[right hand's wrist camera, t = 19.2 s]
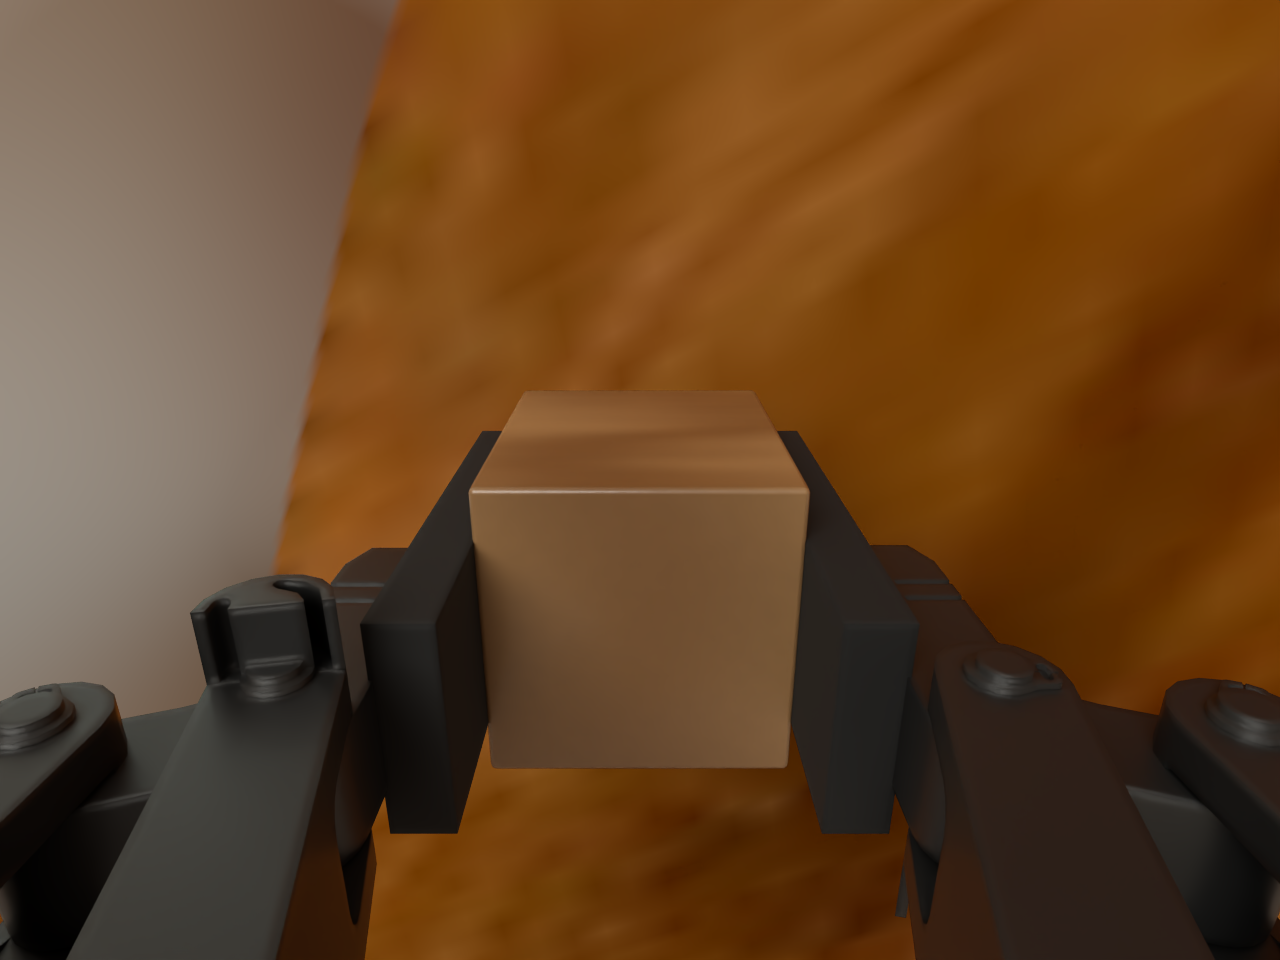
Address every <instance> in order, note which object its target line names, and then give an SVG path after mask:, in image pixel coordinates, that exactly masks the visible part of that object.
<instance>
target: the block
mask: <svg viewBox="0 0 1280 960" xmlns="http://www.w3.org/2000/svg"><path fill="white" fill-rule="evenodd" d="M809 502H810V490H809V488H808V486H807V484H806V483H805V481H804V479H803V477H802V475H801V474H800V472H799V470H798V468H797V466H796V465H795V463H794V461H793V459H792V458H791V456H790V454H789V452H788V450H787V449H786V447H785V445H784V443H783V442H782V440H781V438H780V436H779V434H778V433H777V431H776V429H775V427H774V425H773V424H772V422H771V420H770V418H769V417H768V415H767V413H766V411H765V409H764V408H763V406H762V404H761V402H760V400H759V399H758V397H757V395H756V393H755V392H753V391H526V392H524V394H523V395H522V397H521V399H520V401H519V403H518V404H517V406H516V408H515V410H514V411H513V413H512V415H511V417H510V418H509V420H508V422H507V424H506V426H505V427H504V429H503V431H502V433H501V434H500V436H499V438H498V440H497V441H496V443H495V445H494V447H493V449H492V450H491V452H490V454H489V456H488V457H487V459H486V461H485V463H484V464H483V466H482V468H481V470H480V472H479V473H478V475H477V477H476V479H475V480H474V482H473V484H472V486H471V487H470V490H469V505H470V517H471V529H472V540H473V544H474V556H475V568H476V580H477V592H478V604H479V616H480V628H481V640H482V652H483V664H484V676H485V688H486V700H487V712H488V732H489V744H490V756H491V764H492V766H493V767H494V768H785V767H786V766H787V764H788V757H789V745H790V733H791V715H792V702H793V690H794V678H795V666H796V654H797V642H798V630H799V617H800V605H801V593H802V581H803V569H804V557H805V544H806V538H807V526H808V514H809Z"/></svg>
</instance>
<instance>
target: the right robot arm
mask: <svg viewBox="0 0 1280 960" xmlns="http://www.w3.org/2000/svg"><path fill="white" fill-rule="evenodd" d="M501 433H502V431H482V433H481V434H480V436H479V437H478V439H477V440H476V442H475V444H474V445H473V447H472V448H471V450H470V451H469V453H468V455H467V456H466V458H465V459H464V461H463V462H462V464H461V466H460V467H459V469H458V470H457V472H456V473H455V475H454V477H453V478H452V480H451V481H450V483H449V484H448V486H447V488H446V489H445V491H444V492H443V494H442V495H441V497H440V499H439V500H438V502H437V503H436V505H435V506H434V508H433V510H432V511H431V513H430V514H429V516H428V517H427V519H426V521H425V522H424V524H423V525H422V527H421V528H420V530H419V532H418V533H417V535H416V536H415V538H414V539H413V541H412V543H411V544H410V546H409V547H408V548H371V549H370V550H368V551H367V552H365V553H363V554H362V555H360V556H358V557H357V558H355V559H353V560H352V561H350V562H348V563H347V564H345V566H344V567H343V568H342V569H341V571H340V572H339V573H338V575H337V576H336V577H335V578H334V580H333V581H332V582H331V585H330V584H328V583H327V582H326V581H324V580H323V579H320V578H316V577H312V576H307V575H274V576H268V577H262V578H256V579H251V580H248V581H245V582H242V583H239V584H236V585H232V586H229V587H226V588H224V589H222V590H220V591H219V592H217V593H215V594H213V595H211V596H209V597H207V598H206V599H204V600H203V601H202V602H201V603H200V604H199V605H198V606H197V607H196V608H195V609H193V610H192V611H191V612H190V615H191V619H192V623H193V628H194V632H195V636H196V640H197V645H198V649H199V653H200V657H201V662H202V666H203V670H204V675H205V679H206V683H207V686H206V688H205V690H204V692H203V694H202V696H201V698H200V700H199V702H198V704H194V705H190V706H186V707H182V708H177V709H172V710H167V711H161V712H156V713H151V714H145V715H140V716H135V717H130V718H125V719H121V716H120V713H119V709H118V706H117V703H116V699H115V696H114V694H113V693H112V692H111V691H109V690H108V689H107V688H106V687H104V686H103V685H98V684H92V683H86V682H74V683H62V684H49V685H44V686H39V687H38V689H35V688H31V689H28V690H25V691H21V692H19V693H16V694H15V695H13V696H12V697H10V698H7V699H5V700H3V701H0V914H1V916H2V919H3V922H2V923H1V924H0V960H364V959H365V951H366V943H367V935H368V927H369V919H370V912H371V904H372V896H373V888H374V880H375V873H376V865H377V863H376V856H375V848H374V842H373V836H372V829H371V828H372V826H373V823H374V821H375V818H376V816H377V814H378V811H379V809H380V806H381V804H382V802H383V799H384V797H385V800H386V807H387V814H388V820H389V827H390V834H457V833H458V830H459V826H460V823H461V819H462V815H463V812H464V808H465V805H466V801H467V798H468V794H469V791H470V787H471V783H472V780H473V776H474V773H475V769H476V766H477V762H478V758H479V755H480V751H481V748H482V744H483V741H484V737H485V733H486V730H487V726H488V712H487V700H486V688H485V676H484V664H483V652H482V640H481V628H480V616H479V604H478V592H477V580H476V568H475V556H474V544H473V540H472V529H471V517H470V505H469V490H470V487H471V486H472V484H473V482H474V480H475V479H476V477H477V475H478V473H479V472H480V470H481V468H482V466H483V464H484V463H485V461H486V459H487V457H488V456H489V454H490V452H491V450H492V449H493V447H494V445H495V443H496V441H497V440H498V438H499V436H500V434H501ZM777 433H778V434H779V436H780V438H781V440H782V442H783V443H784V445H785V447H786V449H787V450H788V452H789V454H790V456H791V458H792V459H793V461H794V463H795V465H796V466H797V468H798V470H799V472H800V474H801V475H802V477H803V479H804V481H805V483H806V484H807V486H808V488H809V490H810V502H809V514H808V526H807V538H806V544H805V557H804V569H803V581H802V593H801V605H800V617H799V630H798V642H797V654H796V666H795V678H794V690H793V702H792V715H791V725H792V728H793V732H794V735H795V739H796V743H797V746H798V750H799V753H800V757H801V760H802V764H803V768H804V771H805V775H806V778H807V782H808V785H809V789H810V793H811V796H812V800H813V803H814V807H815V810H816V814H817V817H818V821H819V825H820V828H821V832H822V834H889V830H890V823H891V816H892V810H893V803H894V796H895V794H896V797H897V799H898V801H899V804H900V806H901V809H902V811H903V813H904V816H905V818H906V821H907V823H908V825H909V829H908V836H907V842H906V848H905V855H904V861H903V867H902V874H901V880H900V886H899V893H898V899H897V906H896V914H895V916H899V917H904V918H906V914H907V908H908V903H909V910H910V918H911V926H912V933H913V941H914V949H915V957H916V960H1280V920H1279V919H1278V914H1279V912H1280V697H1278V696H1275V695H1273V694H1270V693H1268V692H1267V691H1266V690H1264V689H1262V688H1259V687H1256V686H1252V685H1249V684H1246V685H1242V683H1241V682H1236V681H1231V680H1215V679H1204V678H1196V679H1190V680H1184V681H1178V682H1176V683H1175V684H1174V685H1173V686H1171V687H1170V688H1169V689H1167V690H1166V693H1165V696H1164V700H1163V703H1162V707H1161V710H1160V714H1159V715H1153V714H1148V713H1143V712H1138V711H1132V710H1127V709H1122V708H1116V707H1111V706H1106V705H1101V704H1096V703H1092V702H1088V701H1084V700H1081V698H1080V696H1079V694H1078V692H1077V690H1076V689H1075V687H1074V685H1073V683H1072V682H1071V681H1070V680H1069V679H1068V677H1067V676H1066V675H1065V674H1064V673H1063V671H1062V670H1061V669H1060V668H1058V667H1056V666H1055V665H1053V664H1052V663H1050V662H1049V661H1047V660H1046V659H1044V658H1042V657H1041V656H1039V655H1036V654H1034V653H1031V652H1028V651H1026V650H1023V649H1021V648H1018V647H1016V646H1011V645H1006V644H1001V643H998V642H997V641H996V640H995V639H994V637H993V636H992V635H991V633H990V632H989V631H988V630H987V628H986V627H985V626H984V625H983V623H982V622H981V621H980V619H979V618H978V617H977V616H976V614H975V613H974V612H973V610H972V609H971V608H970V607H969V605H968V604H967V603H966V601H965V600H961V595H960V594H959V593H958V591H957V590H956V589H955V587H954V586H953V585H952V584H949V580H948V578H947V577H946V576H945V575H944V573H943V572H942V571H941V569H940V568H939V567H938V566H937V564H936V563H935V562H934V561H933V560H931V559H929V558H928V557H926V556H924V555H923V554H921V553H919V552H918V551H916V550H914V549H913V548H911V547H909V546H908V545H869V543H868V542H867V540H866V539H865V537H864V536H863V534H862V532H861V531H860V529H859V528H858V526H857V525H856V523H855V521H854V520H853V518H852V517H851V515H850V514H849V512H848V510H847V509H846V507H845V506H844V504H843V503H842V501H841V499H840V498H839V496H838V495H837V493H836V492H835V490H834V488H833V487H832V485H831V484H830V482H829V481H828V479H827V478H826V476H825V474H824V473H823V471H822V470H821V468H820V467H819V465H818V463H817V462H816V460H815V459H814V457H813V456H812V454H811V452H810V451H809V449H808V448H807V446H806V445H805V443H804V441H803V440H802V438H801V437H800V435H799V434H798V432H797V431H777Z"/></svg>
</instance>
